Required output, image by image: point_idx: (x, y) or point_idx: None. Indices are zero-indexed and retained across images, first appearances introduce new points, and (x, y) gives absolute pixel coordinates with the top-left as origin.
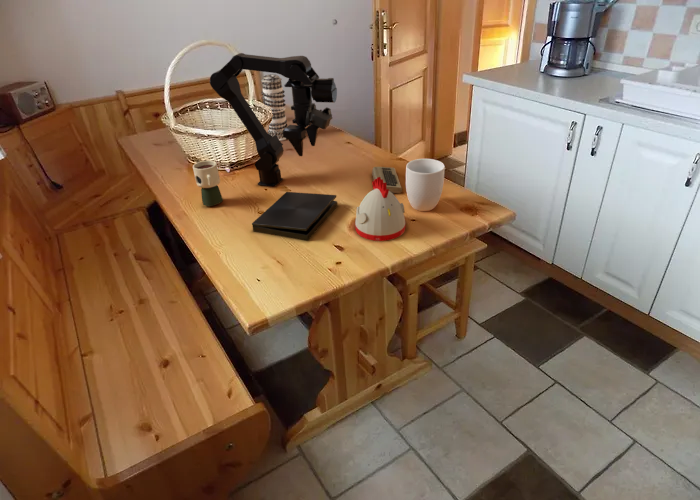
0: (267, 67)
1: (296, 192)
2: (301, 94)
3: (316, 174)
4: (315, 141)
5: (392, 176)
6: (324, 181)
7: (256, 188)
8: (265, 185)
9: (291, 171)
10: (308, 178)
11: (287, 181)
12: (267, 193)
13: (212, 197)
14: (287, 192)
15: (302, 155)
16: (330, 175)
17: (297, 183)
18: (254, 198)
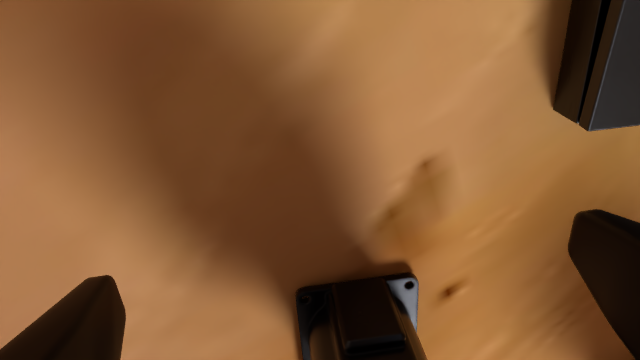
0: None
1: (614, 46)
2: None
3: (96, 143)
4: (46, 322)
5: None
6: (182, 6)
7: (447, 337)
8: (416, 319)
9: (153, 315)
10: (195, 160)
11: (303, 254)
12: (494, 259)
13: None
14: (602, 118)
15: (593, 211)
16: (40, 19)
17: (306, 183)
18: (564, 279)
